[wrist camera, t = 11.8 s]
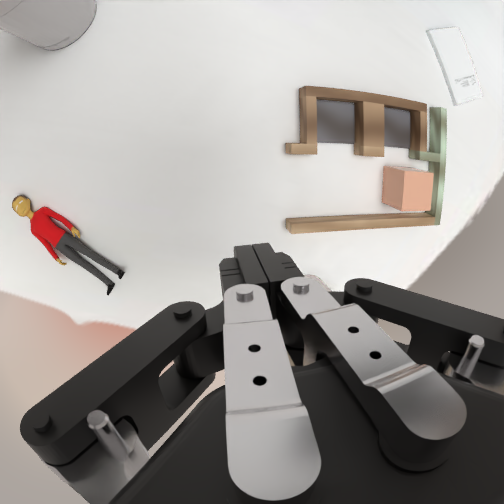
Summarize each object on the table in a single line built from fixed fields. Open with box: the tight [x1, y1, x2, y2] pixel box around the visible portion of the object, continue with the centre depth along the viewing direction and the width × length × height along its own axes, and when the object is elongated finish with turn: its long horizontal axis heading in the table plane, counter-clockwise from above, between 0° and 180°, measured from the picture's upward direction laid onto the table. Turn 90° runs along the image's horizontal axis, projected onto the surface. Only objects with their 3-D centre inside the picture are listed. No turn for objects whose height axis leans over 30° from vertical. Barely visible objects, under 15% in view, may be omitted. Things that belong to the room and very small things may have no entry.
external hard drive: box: [426, 27, 483, 106], centre depth 32 cm, size 2×8×12 cm
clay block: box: [382, 166, 434, 211], centre depth 36 cm, size 5×5×5 cm
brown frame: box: [286, 86, 447, 234], centre depth 35 cm, size 17×23×2 cm
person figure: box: [12, 195, 125, 295], centre depth 32 cm, size 5×4×18 cm
